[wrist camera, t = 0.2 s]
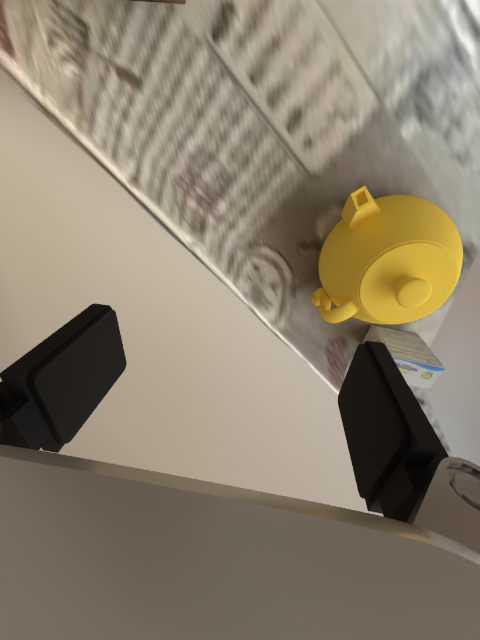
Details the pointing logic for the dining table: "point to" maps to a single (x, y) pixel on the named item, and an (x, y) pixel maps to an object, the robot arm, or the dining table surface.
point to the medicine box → (408, 355)
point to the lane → (165, 1)
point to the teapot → (388, 260)
